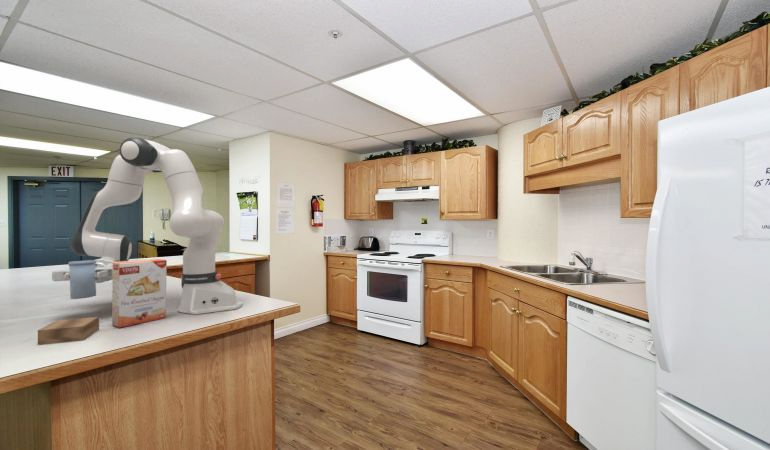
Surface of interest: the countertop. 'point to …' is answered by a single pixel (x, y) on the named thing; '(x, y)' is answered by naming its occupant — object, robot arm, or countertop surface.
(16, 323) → the countertop surface
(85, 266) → the canister
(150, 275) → the cracker box
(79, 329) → the plinth
